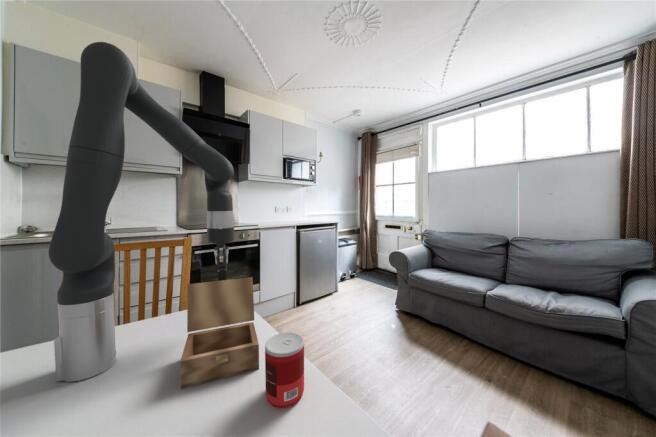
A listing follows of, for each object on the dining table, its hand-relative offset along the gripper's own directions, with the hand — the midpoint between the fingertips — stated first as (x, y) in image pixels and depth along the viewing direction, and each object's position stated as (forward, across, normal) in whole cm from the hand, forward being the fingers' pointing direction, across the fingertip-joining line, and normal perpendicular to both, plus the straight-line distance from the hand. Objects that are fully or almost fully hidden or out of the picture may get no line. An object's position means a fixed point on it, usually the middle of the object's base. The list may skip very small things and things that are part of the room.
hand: (222, 282), depth 73 cm
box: (+15, +16, 0) cm, 22 cm away
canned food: (+16, +32, +12) cm, 38 cm away
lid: (+3, +8, 0) cm, 9 cm away
